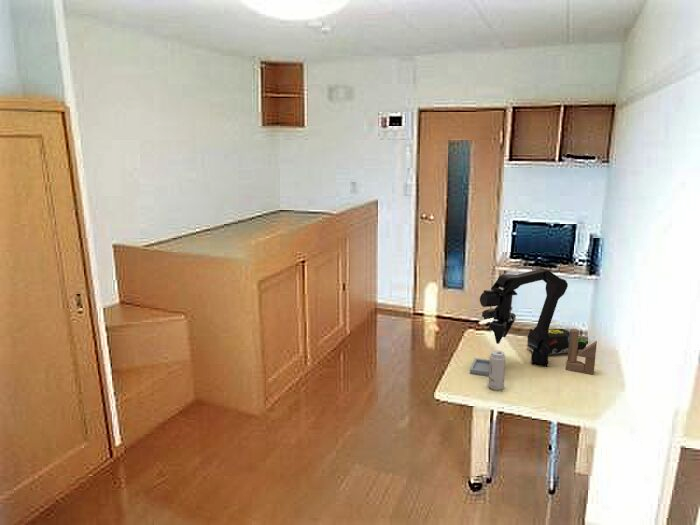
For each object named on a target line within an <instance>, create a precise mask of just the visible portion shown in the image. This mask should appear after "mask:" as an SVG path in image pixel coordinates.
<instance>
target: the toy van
mask: <svg viewBox="0 0 700 525" xmlns="http://www.w3.org/2000/svg"><path fill="white" fill-rule="evenodd" d="M548 333H549V342H548V344H549V345H550V346H551V347H552V348H553V351H552V353H550V354H549V355H548V358H549V357H551V355H552V354H564V353H568V347H569V336H570V330H569V331H568V330H567V329H565V328H549V329H548ZM587 346H588V345H587V342H586V341H585V340H584V339H583V338H581V337H580V336H579V339H578V350H577V353H578V352H579V351H581V350H583V349H584V348H586V347H587ZM526 347H527V349H529V350H530V351H531V352H532V351H533V350H534V348H532V347H531V346H530V344H529V342H528V341H527V344H526Z"/></svg>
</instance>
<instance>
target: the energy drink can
mask: <svg viewBox="0 0 700 525" xmlns="http://www.w3.org/2000/svg"><path fill="white" fill-rule="evenodd" d="M489 360H490V362H489V376H488V387H489V388H490V389H491V390H493V391H497V392H498V391H502V390H503V389H504V387H505V373H506V360H507V359H506V356H505V352H504V351H501V350H497V349H496V350H492V351H491V353H490V355H489Z"/></svg>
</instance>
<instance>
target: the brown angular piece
mask: <svg viewBox="0 0 700 525" xmlns="http://www.w3.org/2000/svg"><path fill="white" fill-rule="evenodd" d="M569 332H570V336H569V347H568V352H567V359H566V362H565V370H566V371H573V372H577V373H583V374H587V375H594V373H595V366H596V354H597V344H598V340H595V341H594V342H592V343H591V344H589V345H586V348H584V349H583V350H581V351H579V352H578V353H577V350H578V339H579V337H580V329H578V328H570V329H569ZM578 357H581V358H584V359H585V360H584V362H582V361H580V360H577V358H578Z"/></svg>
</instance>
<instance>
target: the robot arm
mask: <svg viewBox="0 0 700 525" xmlns="http://www.w3.org/2000/svg"><path fill="white" fill-rule="evenodd" d="M539 281H542V282H544V283H545V294H546V297H545V299H544V303H543V306H542V308H541V312H540V315H539V317H538V320H537V324H536V326H535V327H534V328H533V329H532V328H530V329H529V331H528V334H527V336H526V338H527V343H528V342H529V344H530V346H531V347H532V348H534V350H533V351H531V357H530V361H531V365H532V366H539V367H545V368H546V367H548V366H549V357H548V355H549V354H550V353H552V351H553V348H552V347H551V346H550V345H549V344H548V342H549V333H548V329H550V327H551V323H552V320H553V316H554V313H555V310H556V308H557V304H558V301H559V300H560V298H562V297H563V296H564V295H565V293H566V292H567V289H568V285H569V284H568V282H567V280H565V279H564V278H561V277H559V276H557V274H555V273H553V272H552V271H551V270H550V269H547V268H543V267H542V268H539V269H535V270H531V271H530V270H529V271H527V272H522V273H519V274H513V273H507V274H500V275H499V276H498V277H497V280H496V281H495V282H494V284H493V285H492V287H491V288H490V289H489V290H488V289H485V290H482V291H483V292H482V293H481V294H480V296H479V302H480V303H479V304H480V305H481V306H482V308H487V307H488V308H487V309H485V310H483V311H482V313H481V317H482V318H483V320H484V321H485V320H488V319H493V320H492V321H491V322H490V323H489V324H488V329H490V331H492V332H493V333H494V335H493V336H494V338H495V339H494V340H495V343H496V344H497V345H498V344H500V343H501V341H502V339H503V338H506V337H507V335H508V333H509V332H510V330H511V328H512V326H513V325H514V323H515V321H516V317H517V315H516V314H515V313H514V312H512V310H513V307H512V304H513V296H518V293H517V292H516V290H517V289H519V288H520V286H523V285H526V284H531V283H535V282H539ZM489 307H490V309H489ZM491 307H494V308H491Z"/></svg>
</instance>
